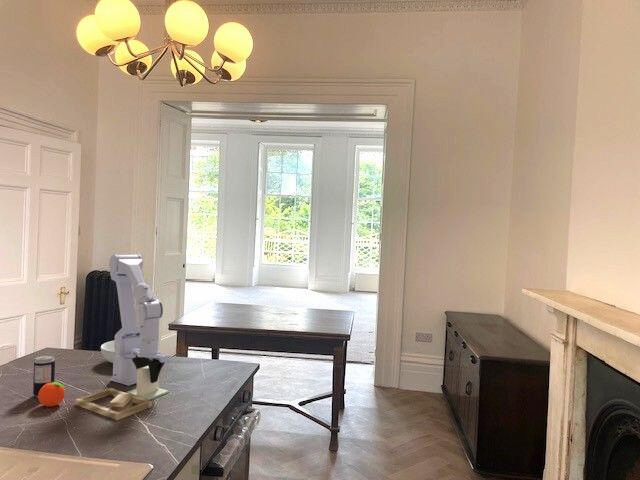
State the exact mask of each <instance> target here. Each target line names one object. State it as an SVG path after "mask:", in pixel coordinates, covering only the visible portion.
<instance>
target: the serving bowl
mask: <svg viewBox="0 0 640 480" xmlns="http://www.w3.org/2000/svg"><path fill="white" fill-rule="evenodd" d="M114 343H115V339H114V340H111V341H107V342H104V343H103V344H101V346H100V352H101V353H100V354H101V355H102V357H103V358H104V359H105V360H106V361H107V362H109V363H112V364H113V361H114V359H115V357H116V356H117V354H116V353H115V349H114Z"/></svg>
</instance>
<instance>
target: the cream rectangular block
mask: <svg viewBox="0 0 640 480" xmlns="http://www.w3.org/2000/svg"><path fill="white" fill-rule="evenodd" d="M159 388H160V376H159V377H158V380H157V382H154V383H151V381H150V370H149V366H148V365H147V366H146V367H142V368H139V369H137V383H136V389H137V394H138V395H144V394H147V393H149V392H152V391H155V390H158V389H159Z"/></svg>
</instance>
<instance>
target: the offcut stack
mask: <svg viewBox="0 0 640 480" xmlns="http://www.w3.org/2000/svg"><path fill="white" fill-rule="evenodd" d="M109 407H110V409H111V410H113V411H116V412H120V411H123V410H125V409H128V408H131V407H133V402H132V394H119V395H117V396H116V397H115V396H114V398H113V399H112V400H111V401H110V402H109Z"/></svg>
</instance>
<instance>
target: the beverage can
mask: <svg viewBox="0 0 640 480" xmlns="http://www.w3.org/2000/svg"><path fill="white" fill-rule="evenodd" d="M54 357H55V356H54V355H53V354H52V355H51V354H44V355H38V356H36V357H35V359H34V362H33V379H32V381H33V387H32V390H33V391H32V395H33V396H34V397H36V398H38V394H39V391H40V389H41V388H42V387H43V386H44V385H45V384H47V383H50V382H56V377H55V376H56V373H55V372H56V359H55V358H54ZM38 399H39V398H38Z"/></svg>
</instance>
